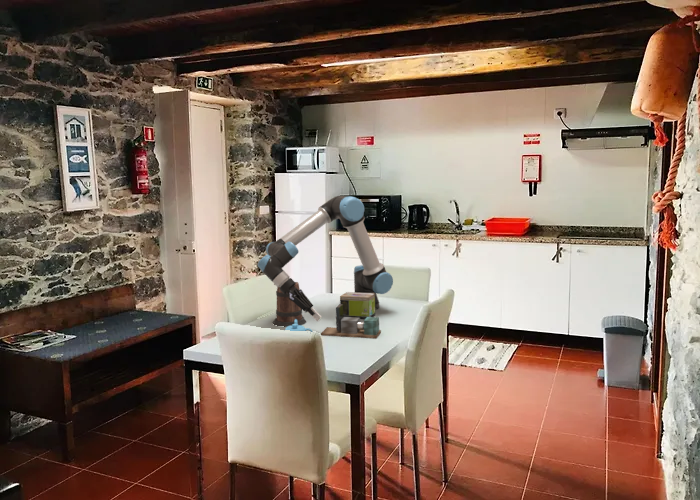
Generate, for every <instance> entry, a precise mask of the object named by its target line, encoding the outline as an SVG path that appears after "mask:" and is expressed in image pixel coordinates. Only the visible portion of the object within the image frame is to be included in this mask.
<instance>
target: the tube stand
mask: <svg viewBox="0 0 700 500" xmlns="http://www.w3.org/2000/svg"><path fill="white" fill-rule="evenodd" d="M357 322H360V318H356V317H344V318H343V319H342V320H341V330H340V331H337V328H336V327H332V326H331V327H326V328H324V330H322V332H320V336H322V337H323V336H327V337H340V338H341V337H342V338H361V339H378V337H379V336H380V335H381V333H382V330H381V329H380V317H378V316H375V317H367V318H366V319H365V320H364V330H357Z"/></svg>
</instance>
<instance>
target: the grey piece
mask: <svg viewBox="0 0 700 500" xmlns="http://www.w3.org/2000/svg"><path fill="white" fill-rule="evenodd" d="M335 319H336V321H335V322H336V325H335V326H336V327H335V328H337V331H340V330H341V320H342V319H343V304H340V303H339V304H338V305H337V306H336V307H335ZM357 330H364V322H357Z"/></svg>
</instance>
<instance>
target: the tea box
mask: <svg viewBox="0 0 700 500" xmlns="http://www.w3.org/2000/svg"><path fill="white" fill-rule="evenodd" d="M339 304H343V318H344V317H356V318H360V322H364V320H365V319H366V318H367V317H376V309H375V293H356V292H355V291H353V292H350V291H345V293H342V295H340V296H339Z"/></svg>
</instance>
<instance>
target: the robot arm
mask: <svg viewBox="0 0 700 500" xmlns="http://www.w3.org/2000/svg"><path fill="white" fill-rule="evenodd" d="M364 212H365V206H364V203H363V202H362V201H361V200H360V199H359V198H357V197H355V196H350V195H349V196H347V195H346V196H345V195H337V196H334V197H331V198H330V199H329V200H327V201H326V202H325V203H323V204H322V205H321V206H319V207H318V209H317V211H316V212H314V213H313V214H312V215H310V216H309V217H307V218H306V219H305V220H303V221H302V222H300V223H299V224H298V225H297V226H295V227H294V228H293V229H291V230H290V231H288V232H287V233H286V234H284V235H283V236H281V237H280V238H279V239H277V240H275V241H271V242H270V243H268V244H267V245H266V247H265V252H266V255H264V256H263V257H262V258H261V259H260V260H259V261H258V262H257V267H258V268H259V269H260V271H261V272H262V273H263V274H264V276H266V277H267V278H268V279H269V280H270V281H271V282H272V283H273V285H274V286H276V287H278V288H279V287H280V288H279V289H280V290H281V291H282V292H283V294H286V293H288V295H289V296H290V297H289V299H290V300H291V301H293V302H294V303H295V304H296V305H297V306H299V307H300V308H301V309H302V312H304V313H308V314H309V315H310V316H311V317H312V318H313V319H314V320H315V321H316V322H319V320H321V318H322V315H320V314H319V312H318V311H317V310H316V309H315V308H314V304H313V303H312V302H311V300H310V299H309V298H308V297H307V296H306V294H305V293H304V291H303V290H302V289H301V288H300V290H298V289H297V288H296V287H295V286H294V285H295V284H296V283H295V282H296V281H295V280H294V279H293V278H292V277H291V278H290V275H289V274H288V273H287V272H286V271H285V270H284V269H283V268H284V267H285V266H286V265H287V264H288V263H289V262H290V261H292V260H293V259H294V258H295V257H296V256H297V255H298V254H299V249H298V247H297V245H298V244H301V242H303V241H304V240H305V239H307V238H308V237H309V236H311V235H313V234H314V233H315V232H316V231H317V230H319V229H320V228H321V227H323V226H325V225H326V224H331V222H333V221H335V220H338V219H339V220H340V223H341V225H342V228H345V229H347V231H348V233H349V236H350V238H351V239H350V240H352V241H351V242H352V243H353V246H354V248H355V250H356V251H355V252H356V253H357V256H358V258H359V260H360V263H361V264H360V265H356V266H354V268H353V269H354V270H353V279H354V280H353V281H354V282H353V283H354V284H353V285H354V292H356V293H375V310H377V309H379V308H380V301H379V297H378V295H385V294H387V293H388V292H390V290H391V289H392V287H393V285H394V284H393V283H394V278H393V275H392V274H391V273H389V272H388V271H387V269H386V268H385V265H384V264H383V263H381V262H380V260H379V258H378V256H377V253H376V251H375V248H374V246H373V242H372V240H371V238H370V236H369V233H368V231H367V229H366V226H365V223H364V221H365V216H364ZM377 294H378V295H377Z"/></svg>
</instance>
